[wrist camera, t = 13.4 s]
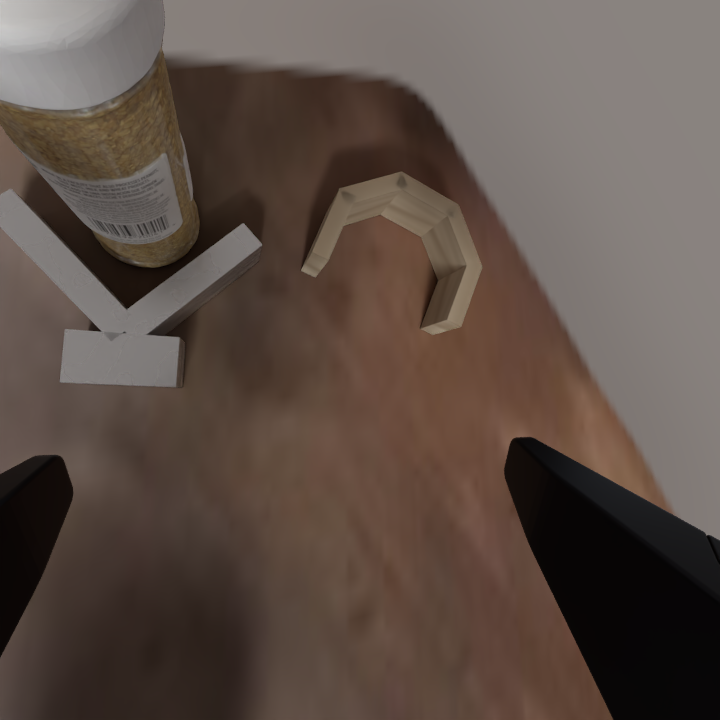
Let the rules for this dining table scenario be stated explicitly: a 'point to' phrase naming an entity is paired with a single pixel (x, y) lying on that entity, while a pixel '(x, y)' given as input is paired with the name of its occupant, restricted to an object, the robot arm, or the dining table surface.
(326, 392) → the dining table surface
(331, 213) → the wooden collar
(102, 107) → the sprinkles bottle
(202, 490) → the dining table surface
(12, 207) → the V-block
